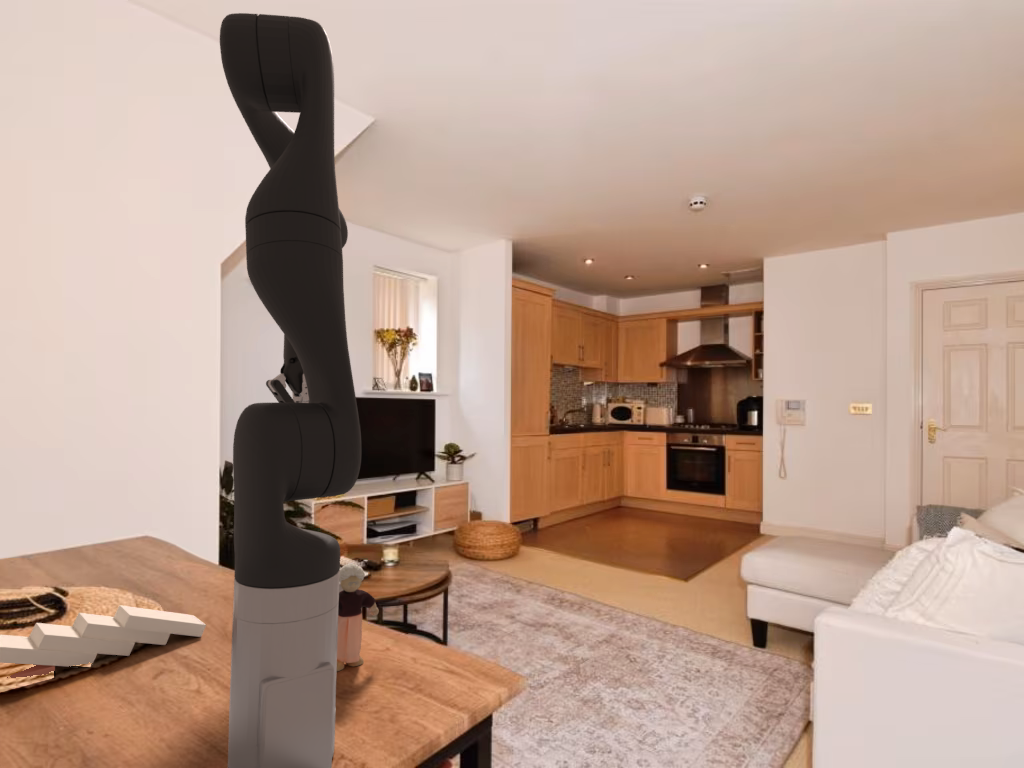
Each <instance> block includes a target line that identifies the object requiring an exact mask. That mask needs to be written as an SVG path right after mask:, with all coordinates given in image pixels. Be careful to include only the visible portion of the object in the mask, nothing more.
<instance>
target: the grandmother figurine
mask: <svg viewBox="0 0 1024 768" xmlns="http://www.w3.org/2000/svg"><path fill="white" fill-rule="evenodd" d="M365 576H366V573H365V571H364V569H363V568H362V566H359V565H358V564H355V563H353V562H349V563H347V564H344V565H343V566H342V567H340V577H339V582H340V584H341V587H342V589H343V591H341V592H339V604H338V638H337V671H336V672H340V671H342V670H343V669H345V663H346V664H347V666H349V667H357V666H361V665H363V664H364V658H363V657H362V656H361V654H360V653H361V649H362V637H363V630H362V629H363V612H362V609H363V608H368V610H369V611H370V615H372V616H378V614H379V612H380V611H379V608H378V607H377V604H376V598H375V597H374V596H373V595H372V594H370V593H369V592H367V591H365V590H362V589H359V588H360V586H361V585H362V581H363V580H364V579H365Z"/></svg>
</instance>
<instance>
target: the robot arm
mask: <svg viewBox="0 0 1024 768" xmlns="http://www.w3.org/2000/svg"><path fill="white" fill-rule="evenodd" d="M219 49H220V60H221V64H222V69H223V72H224V75H225V79H226V82H227V86H228V89H229V90H230V93H231V96H232V99H233V100H234V102H235V104H236V106H237V108H238V110H239V112H240V114H241V116H242V118H243V119H244V121H245V123H246V125H247V127H248V129H249V131H250V133H251V135H252V137H253V139H254V140H255V142H256V144H257V147H259V149H260V151H261V153H262V155H263V156H264V159H265V161H266V163H267V165H268V167H269V170H268V172H267V173H266V174H265V176H263V179H262V180H261V181H260V183H259V184H258V186H257V187H256V189H255V191H254V192H253V194H252V195H251V198H250V199H249V202H248V204H247V207H246V212H245V216H244V217H245V218H244V219H245V220H244V221H245V222H244V225H245V227H244V228H245V251H246V252H245V253H246V254H245V255H246V256H245V257H246V259H245V260H246V269H247V275H248V278H249V280H250V282H251V285H252V287H253V289H254V291H255V293H256V295H257V297H258V299H259V300H260V302H261V303H262V304H263V306H264V308H265V309H266V310H267V312H268V313H269V314H270V316H271V317H272V319H273V321H274V323H276V325H277V326H278V327H279V329H280V330H281V332H282V333H283V364H282V366H281V368H280V373H279V374H277V375H276V376H275V377H274V378H272V379H268V380H267V381H266V382H265V386H266V387H267V388H268V390H269V392H271V394H272V396H274V398H275V400H276V401H277V402H255V403H252V404H249V405H248V406H246V407H245V408H244V409H243V410H242V412H241V413H240V415H239V417H238V419H237V421H236V425H235V429H234V434H233V445H232V464H233V465H232V468H233V469H232V471H233V473H232V474H233V505H234V506H233V512H234V513H233V514H234V516H233V547H234V550H233V551H234V575H233V576H234V579H233V585H234V586H233V602H232V603H233V607H232V628H231V629H232V631H231V652H230V653H231V657H230V660H231V661H230V678H229V679H230V683H229V685H230V686H229V709H228V710H229V711H228V741H227V742H228V745H227V746H228V749H227V768H332V766H333V765H332V764H333V763H332V762H333V761H332V759H333V757H334V754H335V753H334V752H335V744H336V743H335V739H336V737H335V735H336V708H337V707H336V704H337V703H336V699H337V697H336V695H337V672H338V671H337V638H338V604H339V577H340V569H341V546H340V543H339V541H338V540H337V539H336V538H335V537H333V536H331V535H329V534H327V533H323V532H319V531H316V530H311V529H306V528H305V529H304V528H300V527H298V526H296V525H293V524H291V523H290V522H288V521H287V520H286V517H285V516H286V515H285V509H284V502H292V501H301V500H302V501H304V500H312V499H319V498H321V499H322V498H329V497H336V496H342V495H344V494H347V493H349V492H350V491H351V490H352V489H353V487H354V486H355V485H356V483H357V480H358V477H359V474H360V470H361V465H362V433H361V423H360V418H359V417H360V416H359V411H358V405H357V404H358V403H357V398H356V397H357V396H356V390H355V385H354V378H353V371H352V365H351V357H350V351H349V344H348V336H347V334H348V333H347V321H346V309H345V307H346V305H345V293H344V292H345V291H344V260H343V259H344V257H343V256H344V255H343V249H344V247H345V246H346V244H347V241H348V235H349V232H348V224H347V221H346V219H345V216H344V214H343V212H342V211H341V209H340V205H339V197H338V189H337V175H336V165H335V164H336V161H335V157H336V156H335V68H334V67H335V66H334V57H333V52H332V45H331V43H330V39H329V36H328V33H327V32H326V30H325V28H324V27H323V26H322V25H321V24H320V23H319V22H318V21H316V20H313V19H310V18H306V17H300V16H290V15H277V14H263V13H259V14H258V13H248V12H247V13H246V12H245V13H244V12H243V13H242V12H241V13H240V12H238V13H229V14H227V15H225V17H224V18H223V19H222V21H221V24H220V28H219ZM278 113H293V114H294V113H299V116H298V120H297V122H296V123H297V124H296V127H295V129H292V128H291V127H290V126H289V125H288V124H287V123H286V121H284V119H282V117H281V116H280V115H279V114H278ZM287 386H288V388H289V390H290V391H291V393H292V396H291V395H290V393H289V391H288V390H287V389H286V388H287Z"/></svg>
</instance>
